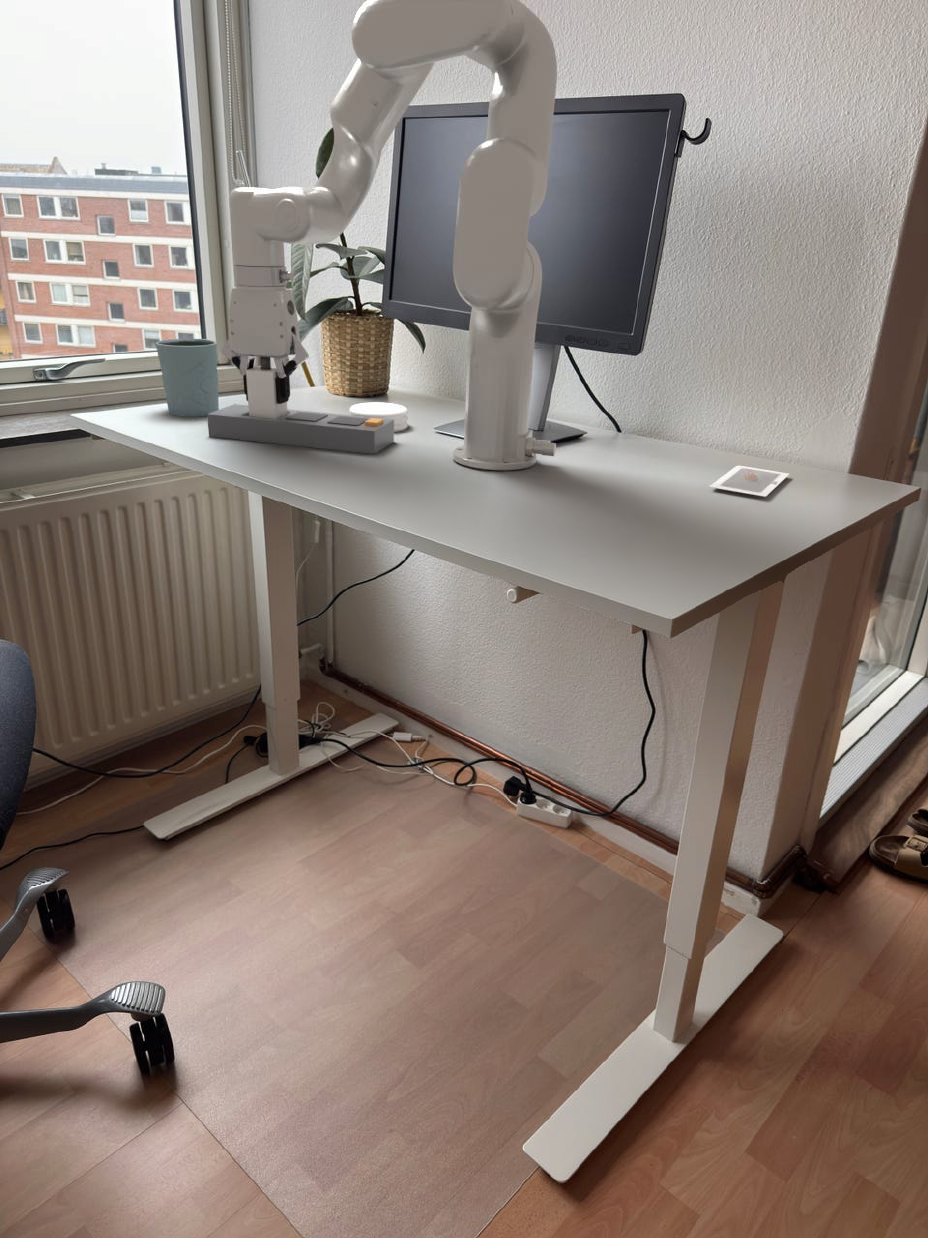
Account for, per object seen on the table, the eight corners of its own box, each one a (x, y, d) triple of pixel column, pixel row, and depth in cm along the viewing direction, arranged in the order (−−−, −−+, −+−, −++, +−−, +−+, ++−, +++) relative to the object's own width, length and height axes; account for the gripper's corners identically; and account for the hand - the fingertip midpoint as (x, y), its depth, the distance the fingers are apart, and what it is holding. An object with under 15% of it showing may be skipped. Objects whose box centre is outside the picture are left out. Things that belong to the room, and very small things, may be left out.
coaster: (349, 433, 147) (349, 412, 146) (349, 421, 156) (348, 401, 155) (409, 434, 149) (409, 413, 147) (405, 421, 158) (405, 401, 156)
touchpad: (707, 494, 124) (710, 479, 123) (736, 472, 136) (738, 458, 135) (764, 504, 120) (767, 488, 119) (788, 480, 132) (791, 466, 131)
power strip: (393, 441, 143) (393, 415, 141) (374, 453, 135) (374, 427, 133) (236, 425, 149) (234, 400, 147) (208, 436, 141) (206, 410, 139)
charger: (288, 424, 144) (284, 354, 139) (275, 430, 140) (271, 358, 135) (262, 422, 145) (258, 353, 140) (250, 427, 141) (245, 356, 136)
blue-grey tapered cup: (221, 417, 154) (216, 345, 149) (160, 417, 151) (153, 345, 147) (222, 405, 163) (217, 338, 158) (164, 406, 160) (157, 337, 155)
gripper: (322, 279, 135) (326, 401, 142) (221, 274, 138) (231, 393, 146) (301, 282, 128) (307, 409, 136) (196, 277, 132) (207, 401, 139)
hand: (267, 399), depth 141 cm, fingers closed on charger, 4 cm apart
